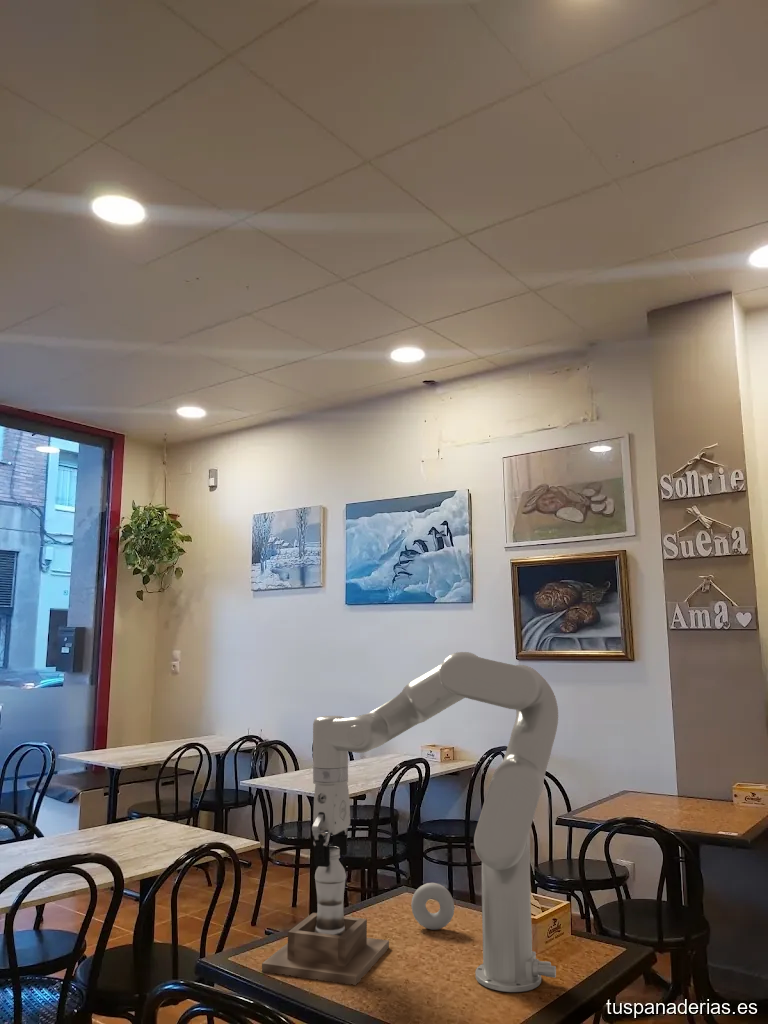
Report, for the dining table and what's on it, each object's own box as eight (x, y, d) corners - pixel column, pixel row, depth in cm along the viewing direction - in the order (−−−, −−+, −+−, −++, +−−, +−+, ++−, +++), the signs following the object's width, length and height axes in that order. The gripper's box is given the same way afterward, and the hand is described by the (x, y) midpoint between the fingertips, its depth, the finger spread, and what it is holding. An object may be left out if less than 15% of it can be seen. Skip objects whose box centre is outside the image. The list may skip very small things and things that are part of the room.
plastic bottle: (341, 957, 156) (342, 852, 159) (309, 955, 157) (311, 851, 161) (349, 946, 162) (350, 845, 166) (318, 943, 163) (319, 843, 167)
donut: (410, 930, 176) (410, 883, 177) (412, 925, 179) (412, 879, 181) (454, 933, 174) (453, 886, 176) (455, 928, 177) (454, 881, 179)
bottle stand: (388, 947, 165) (388, 915, 166) (356, 985, 147) (356, 948, 148) (303, 937, 171) (304, 905, 173) (261, 971, 153) (262, 936, 154)
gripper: (331, 782, 156) (331, 872, 153) (361, 770, 172) (362, 851, 169) (297, 781, 159) (297, 869, 155) (330, 769, 175) (330, 849, 172)
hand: (331, 860), depth 162 cm, fingers open, 9 cm apart
